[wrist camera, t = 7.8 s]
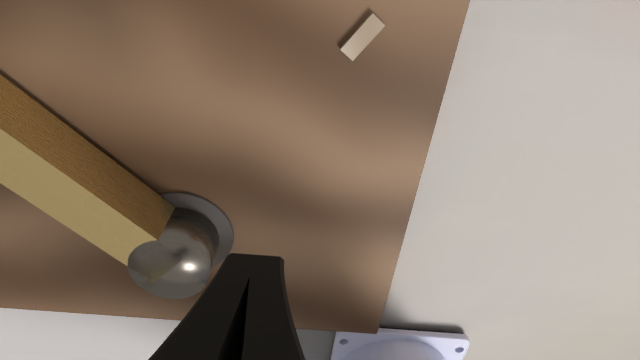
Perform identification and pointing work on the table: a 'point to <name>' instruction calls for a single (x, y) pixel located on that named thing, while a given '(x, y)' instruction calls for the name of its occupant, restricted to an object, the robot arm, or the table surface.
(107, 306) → the plate
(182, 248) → the tan wooden bar
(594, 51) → the table surface
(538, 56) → the table surface
